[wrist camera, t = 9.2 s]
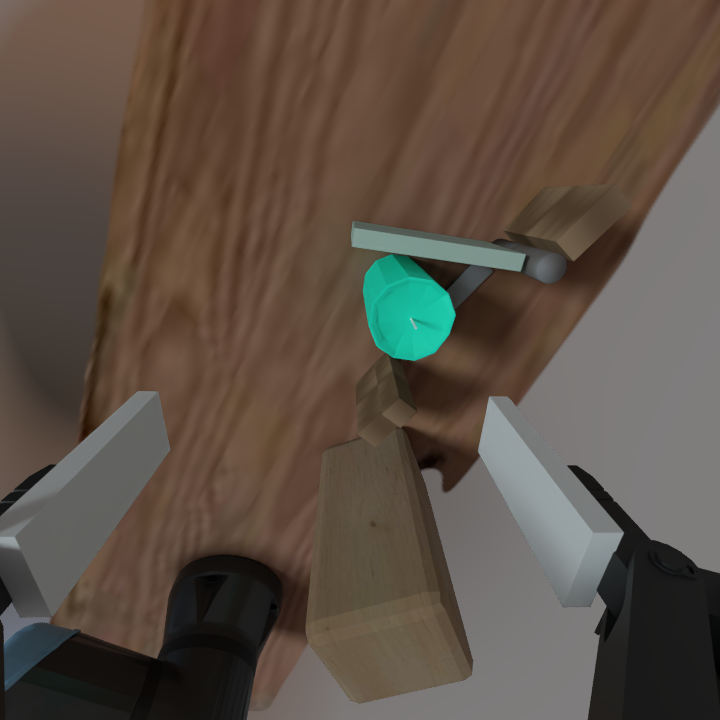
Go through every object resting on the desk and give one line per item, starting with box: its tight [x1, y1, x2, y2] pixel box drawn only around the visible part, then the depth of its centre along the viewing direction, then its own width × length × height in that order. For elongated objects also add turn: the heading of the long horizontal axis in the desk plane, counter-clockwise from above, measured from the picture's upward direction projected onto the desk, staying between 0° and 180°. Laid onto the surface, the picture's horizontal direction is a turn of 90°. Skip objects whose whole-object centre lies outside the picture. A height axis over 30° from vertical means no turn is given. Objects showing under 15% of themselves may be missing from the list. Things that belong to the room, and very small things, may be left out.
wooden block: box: [306, 427, 473, 703], centre depth 34 cm, size 10×10×20 cm
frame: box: [356, 184, 632, 447], centre depth 31 cm, size 25×2×10 cm, turn 139°
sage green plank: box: [351, 221, 526, 272], centre depth 28 cm, size 12×1×8 cm, turn 82°
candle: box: [363, 254, 456, 361], centre depth 29 cm, size 6×6×12 cm
